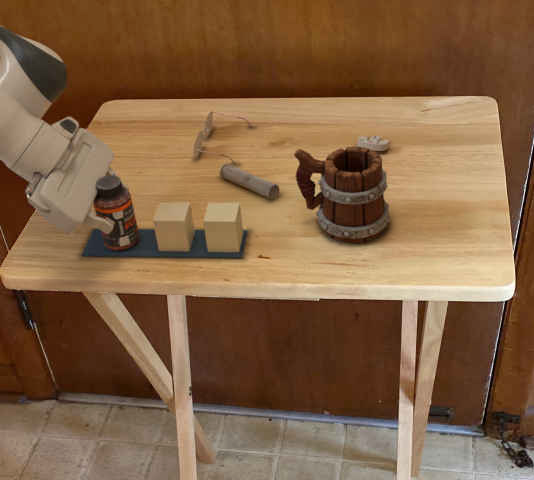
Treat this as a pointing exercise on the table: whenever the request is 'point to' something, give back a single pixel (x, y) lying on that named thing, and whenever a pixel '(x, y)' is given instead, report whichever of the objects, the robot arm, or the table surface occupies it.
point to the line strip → (149, 247)
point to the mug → (346, 192)
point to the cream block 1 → (174, 226)
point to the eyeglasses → (207, 128)
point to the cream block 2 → (223, 227)
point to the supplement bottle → (116, 213)
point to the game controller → (373, 143)
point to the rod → (250, 181)
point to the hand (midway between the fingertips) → (119, 211)
